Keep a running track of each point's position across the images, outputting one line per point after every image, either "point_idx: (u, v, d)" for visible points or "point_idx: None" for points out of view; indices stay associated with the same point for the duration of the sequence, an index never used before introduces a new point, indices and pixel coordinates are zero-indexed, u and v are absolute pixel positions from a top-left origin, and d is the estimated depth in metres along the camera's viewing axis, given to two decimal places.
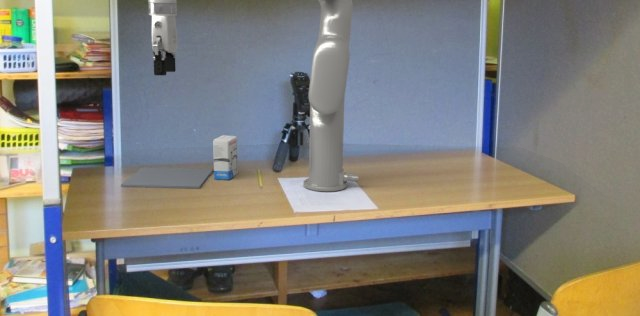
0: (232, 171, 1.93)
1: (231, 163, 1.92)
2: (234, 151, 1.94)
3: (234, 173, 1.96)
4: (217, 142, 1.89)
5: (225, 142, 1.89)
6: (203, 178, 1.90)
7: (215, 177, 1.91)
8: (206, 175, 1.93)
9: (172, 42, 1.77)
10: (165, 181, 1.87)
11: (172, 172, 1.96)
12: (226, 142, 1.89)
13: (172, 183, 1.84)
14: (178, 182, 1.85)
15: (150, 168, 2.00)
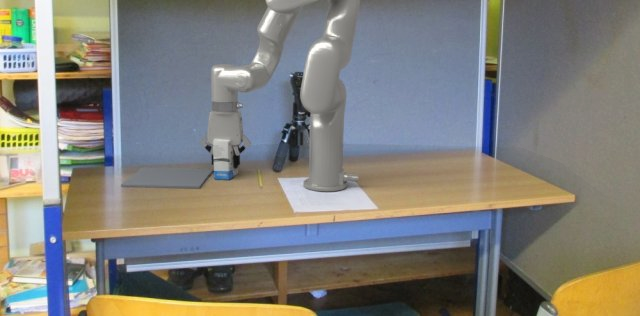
0: (232, 171, 1.93)
1: (231, 163, 1.92)
2: (234, 151, 1.94)
3: (234, 173, 1.96)
4: (217, 142, 1.89)
5: (225, 142, 1.89)
6: (203, 178, 1.90)
7: (215, 177, 1.91)
8: (206, 175, 1.93)
9: None
10: (165, 181, 1.87)
11: (172, 172, 1.96)
12: (226, 142, 1.89)
13: (172, 183, 1.84)
14: (178, 182, 1.85)
15: (150, 168, 2.00)
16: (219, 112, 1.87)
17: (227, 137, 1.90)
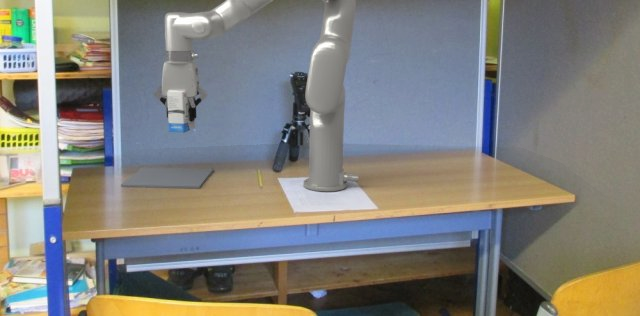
0: (188, 124, 1.86)
1: (187, 116, 1.85)
2: None
3: (191, 127, 1.89)
4: (171, 93, 1.82)
5: (179, 93, 1.82)
6: (203, 178, 1.90)
7: (170, 130, 1.85)
8: (206, 175, 1.93)
9: None
10: (165, 181, 1.87)
11: (172, 172, 1.96)
12: (181, 93, 1.82)
13: (172, 183, 1.84)
14: (178, 182, 1.85)
15: (150, 168, 2.00)
16: (173, 61, 1.80)
17: (182, 88, 1.83)
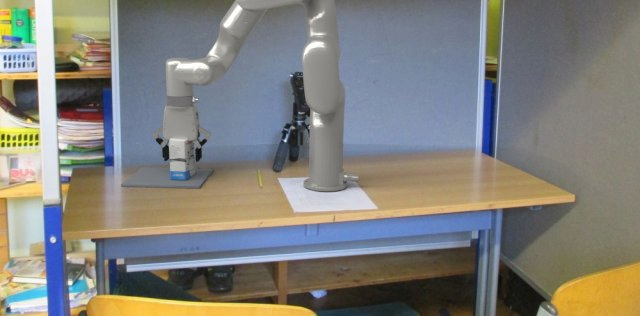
0: (189, 172, 1.90)
1: (188, 163, 1.89)
2: (191, 151, 1.91)
3: (191, 173, 1.92)
4: (173, 142, 1.85)
5: (182, 142, 1.85)
6: (203, 178, 1.90)
7: (171, 177, 1.88)
8: (206, 175, 1.93)
9: None
10: (165, 181, 1.87)
11: None
12: (183, 142, 1.85)
13: (172, 183, 1.84)
14: (178, 182, 1.85)
15: (150, 168, 2.00)
16: (174, 106, 1.83)
17: (183, 132, 1.86)
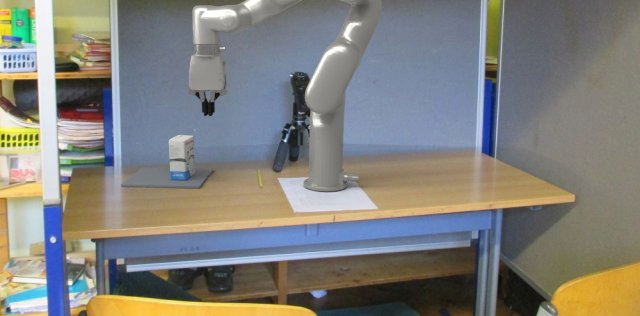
0: (189, 172, 1.90)
1: (188, 163, 1.89)
2: (191, 151, 1.91)
3: (191, 173, 1.92)
4: (173, 142, 1.85)
5: (181, 142, 1.85)
6: (203, 178, 1.90)
7: (171, 178, 1.88)
8: (206, 175, 1.93)
9: None
10: (165, 181, 1.87)
11: None
12: (182, 142, 1.85)
13: (172, 183, 1.84)
14: (178, 182, 1.85)
15: (150, 168, 2.00)
16: (201, 55, 1.80)
17: (209, 81, 1.83)
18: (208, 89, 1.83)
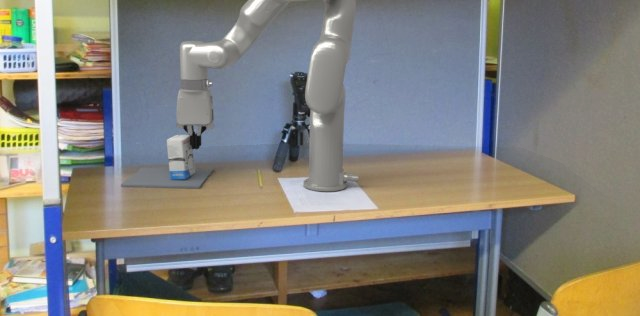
0: (188, 171, 1.90)
1: (187, 162, 1.89)
2: (190, 150, 1.91)
3: (191, 172, 1.92)
4: (171, 142, 1.85)
5: (179, 141, 1.85)
6: (203, 178, 1.90)
7: (171, 177, 1.88)
8: (206, 175, 1.93)
9: None
10: (165, 181, 1.87)
11: None
12: (180, 141, 1.85)
13: (172, 183, 1.84)
14: (178, 182, 1.85)
15: (150, 168, 2.00)
16: (188, 90, 1.82)
17: (196, 116, 1.85)
18: (195, 123, 1.86)
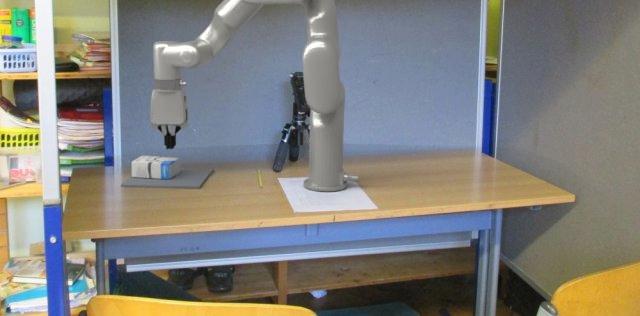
0: (167, 161, 1.90)
1: (158, 160, 1.90)
2: (151, 157, 1.93)
3: (173, 159, 1.92)
4: (132, 172, 1.89)
5: (132, 164, 1.89)
6: (203, 178, 1.90)
7: (167, 177, 1.88)
8: (206, 175, 1.93)
9: None
10: (165, 181, 1.87)
11: None
12: (132, 163, 1.89)
13: (172, 183, 1.84)
14: (178, 182, 1.85)
15: None
16: (161, 90, 1.82)
17: (170, 116, 1.85)
18: (169, 123, 1.86)
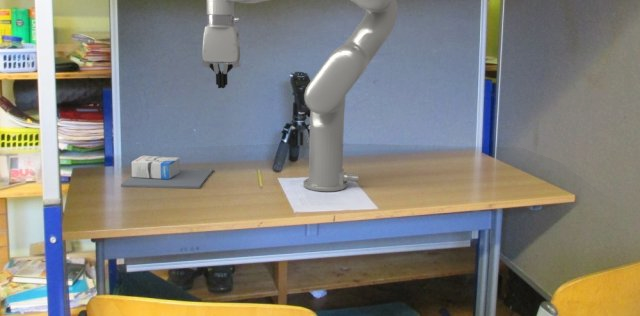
0: (167, 161, 1.90)
1: (158, 160, 1.90)
2: (151, 157, 1.93)
3: (173, 159, 1.92)
4: (132, 172, 1.89)
5: (132, 164, 1.89)
6: (203, 178, 1.90)
7: (167, 177, 1.88)
8: (206, 175, 1.93)
9: None
10: (165, 181, 1.87)
11: None
12: (132, 163, 1.89)
13: (172, 183, 1.84)
14: (178, 182, 1.85)
15: None
16: (214, 25, 1.78)
17: (223, 53, 1.81)
18: (222, 61, 1.81)
